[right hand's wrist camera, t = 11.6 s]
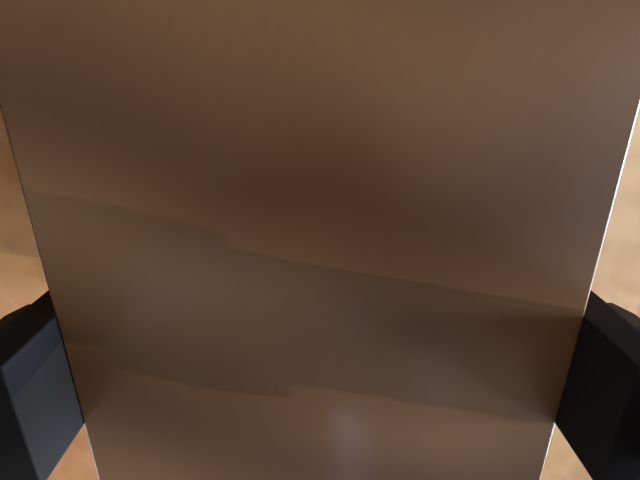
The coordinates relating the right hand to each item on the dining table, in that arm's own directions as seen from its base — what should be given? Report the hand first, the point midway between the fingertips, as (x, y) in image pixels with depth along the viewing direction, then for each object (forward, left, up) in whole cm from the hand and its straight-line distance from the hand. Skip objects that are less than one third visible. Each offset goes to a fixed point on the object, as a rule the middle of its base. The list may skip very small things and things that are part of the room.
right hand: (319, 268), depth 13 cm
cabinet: (+1, -4, -7) cm, 8 cm away
